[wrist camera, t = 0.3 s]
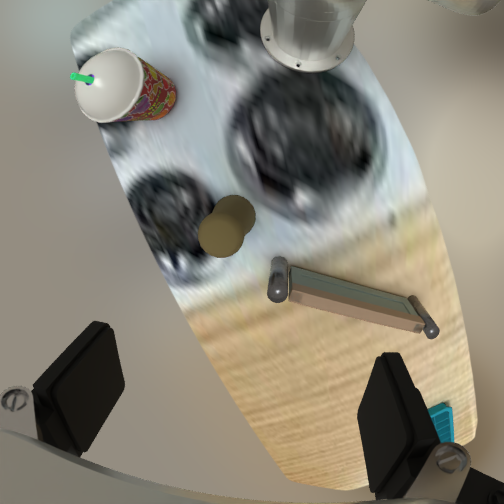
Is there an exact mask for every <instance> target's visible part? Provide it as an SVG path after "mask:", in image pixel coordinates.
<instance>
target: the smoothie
mask: <svg viewBox="0 0 504 504" xmlns="http://www.w3.org/2000/svg"><path fill="white" fill-rule="evenodd" d="M70 78H71V79H72V80H76V81H75V89H74V90H75V96H76V100H77V102H78V104H79V106H80V108H81V110H82V112H83V113H84V115H86V116H87V117H88V118H89V119H90V120H93V121H96V122H99V123H104V122H113V121H138V120H157V119H159V118H162V117H163V116H165V115H166V114H167V113H169V111H170V110H171V108H172V107H173V105H174V102H175V100H176V89H175V85H174V84H173V82H172V81H171V79H169V78H168V77H166V76H165V75H164V74H162V73H161V72H159V71H158V70H156V69H155V68H154V67H152V66H151V65H149V64H148V63H146V62H145V61H143V60H142V59H141V58H139V57H137V55H136V54H134V53H133V52H131V51H130V50H128V49H124V48H119V47H117V48H112V49H107V50H105V51H103V52H101V53H99V54H97V55H96V56H94V57H92V58H91V59H89V60H88V61H87V62H86V63H85V64H84V65H83V67H82V68H81V70H80V71H79V73H72V74H71V76H70Z"/></svg>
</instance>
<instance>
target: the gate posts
mask: <svg viewBox="0 0 504 504" xmlns="http://www.w3.org/2000/svg"><path fill="white" fill-rule="evenodd" d="M267 295H268V298H269V299H270V300H271V301H272V302H275V303H280V302H283V301H284V300H286V298H287V296H288V262H287V260H286V259H285V258H284V257H281V256H278V257H275V258H274V259H273V260H272V262H271V269H270V276H269V284H268V291H267ZM407 300H408V301H409V302H410V304H411V305H412V307H413V308H414V310H415V311H416V313H417V314H418V316H420V317H421V318H422V320H423V321H424V323H425V326H424V327H423V331H424V333H425V334H426V336H427V337H428V338H429V339H434V338H436V337H437V336H438V334H439V331H440V330H439V328H438V327H437V325H436V324H435V322H434V321H433V319H432V318H431V317H430V315H429V314H428V312H427V311H426V310H425V308H424V307H423V306H422V304H421V303H420V301H419V300H418V299H417V297H416V296H410V297H408V299H407Z"/></svg>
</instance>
